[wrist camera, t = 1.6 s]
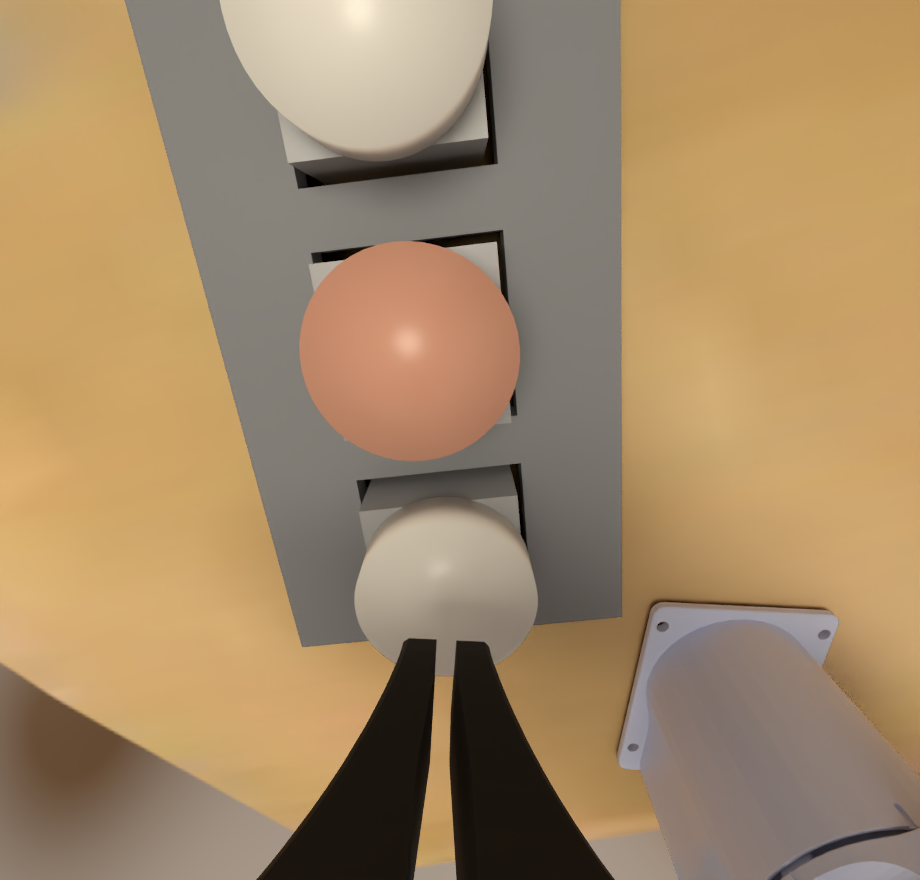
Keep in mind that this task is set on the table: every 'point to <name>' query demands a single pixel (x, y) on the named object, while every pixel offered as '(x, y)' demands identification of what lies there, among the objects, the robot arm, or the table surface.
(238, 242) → the console
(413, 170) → the knob
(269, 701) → the table surface
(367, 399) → the knob middle
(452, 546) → the knob
